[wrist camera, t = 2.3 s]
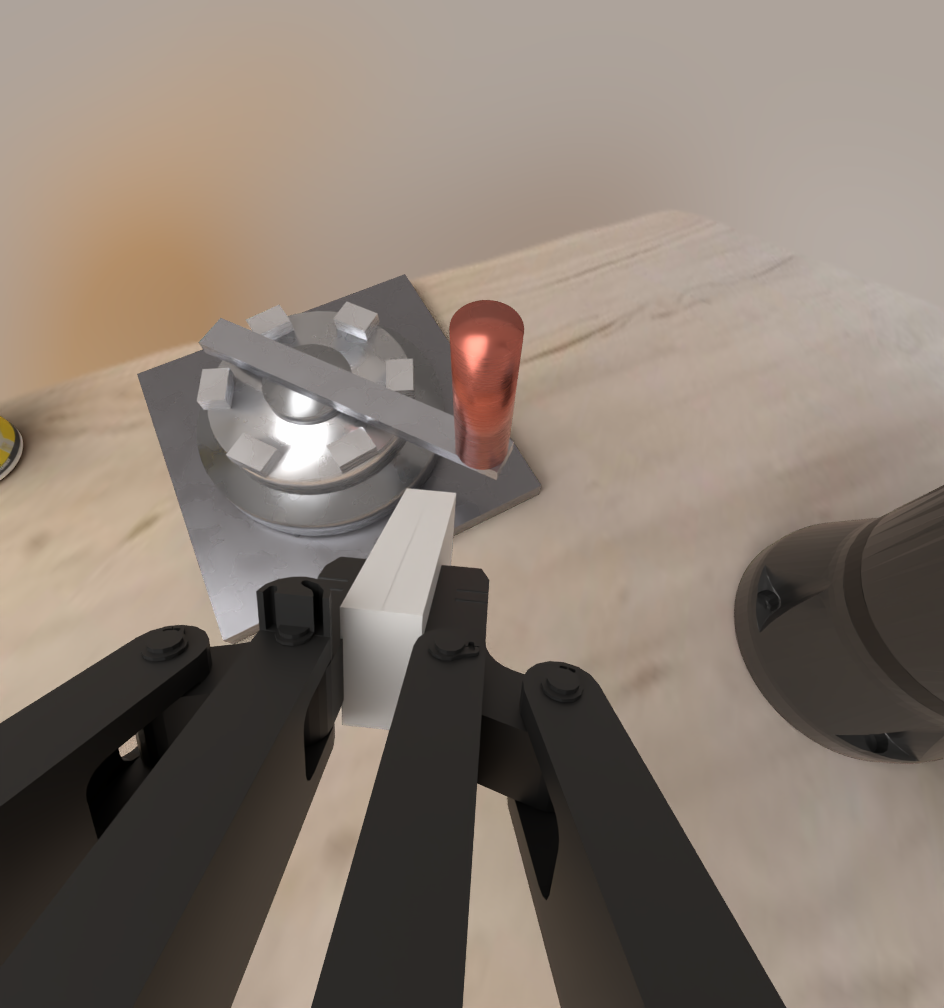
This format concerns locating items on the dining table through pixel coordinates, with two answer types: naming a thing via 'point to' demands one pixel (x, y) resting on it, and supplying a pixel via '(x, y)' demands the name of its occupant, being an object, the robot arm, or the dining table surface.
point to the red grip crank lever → (355, 395)
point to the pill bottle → (9, 447)
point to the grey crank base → (310, 518)
